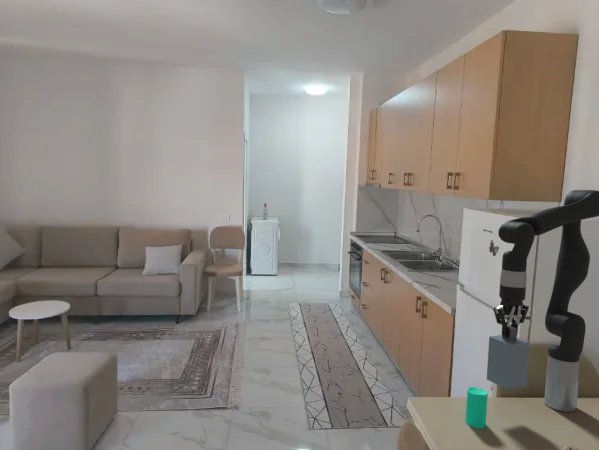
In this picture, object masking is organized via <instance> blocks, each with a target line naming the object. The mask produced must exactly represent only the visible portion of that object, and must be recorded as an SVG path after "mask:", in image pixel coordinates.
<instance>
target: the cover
mask: <svg viewBox="0 0 599 450" xmlns="http://www.w3.org/2000/svg"><path fill="white" fill-rule="evenodd" d="M509 327H510V332H509V338H505V337H503V336H502V334H497V335H492V336H489V337H488V353H487V368H486V380H487V381H489V382H492V383H493V384H495V385H498V386H499V387H501V388H503V389H505V390H506V391H511V390H515V389H519V388H525V387H528V375H529V362H530V359H529V358H530V349H531V343H530V341H527V340H525V339H522V338H519V337H518V334H517V328H515V327H512V326H509Z"/></svg>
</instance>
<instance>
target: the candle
mask: <svg viewBox="0 0 599 450" xmlns="http://www.w3.org/2000/svg"><path fill="white" fill-rule="evenodd" d="M466 390H467V392H466V407H465V409H466V410H465V424H467V426H470V427H472V428H475V429H484V428H486V423H487V422H486V421H487V409H488V408H487V407H488V391H486V390H484V388H481V387H473V386H470V387H468V388H467V389H466Z"/></svg>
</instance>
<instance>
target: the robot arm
mask: <svg viewBox="0 0 599 450" xmlns="http://www.w3.org/2000/svg"><path fill="white" fill-rule="evenodd" d="M563 201H564V203H563V205H560V206H559V205H558V206H555V207H550V208H546V209H542V210H539V211H538V212H535V213H532V214H530V215H528V216H523V217H517V218H513V219H510V220H507V221H505V222H503V223H502V224H501V225H500V227H499V228H498V233H497V234H498V237H499V239H500V240H501V241H502V242H504V243H507V244H512V245H513V244H514V245H513V247H512V250H508V251H504V252H503V254H502V259H501V260H502V261H501V272H500V276H499V277H500V278H499V279H500V280H499V291H498V295H499V298H500V299H501V300H500V304H499V305H498V306H497V307H496V306H494V307H493V312H494V313H493V314H494V317H495V320H496V323H497V324H498V325H501V335H502V336H503V337H505V338H509V332H510V327H509V326H512V327H515V328H517V335H518V334H519V332H518V331H519V326H520V325H521V324H523V323H524V322H525V319H526V317H527V314H528V311H529V309H530V306H529V305H526V304H524V303H523V302H524V301H525V299H526V294H527V293H526V291H527V263H528V261H527V260H528V257H529V255H530V253H531V249H532V246H533V244H534V241H535V238H536V236H541V235H544V234H546V233H548V232H550V231H552V230H555V229H557V228H560V227H562V229H561V240H560V245H559V252H558V257H557V262H556V267H555V268H556V269H555V276H554V280H553V281H554V282H553V287H552V290H551V295H550V299H549V302H548V305H547V306H548V307H547V309H546V313H545V317H544V326H545V330H546V331H547V332H548V333H550V334H551V335H554V336H557V337H558V338H559V337H560V342H559V344H552V345H550V346H549V347H548V350H547V361H546V375H545V376H546V377H545V389H544V400H543V401H544V404H545V405H546V406H547V407H549V408H551V409H553V410H557V411H559V412H564V413H566V412H567V413H572V412H575V410H576V408H577V406H578V395H579V393H578V392H579V383H580V381H579V380H578V378H579V367H580V358H581V355H582V352H583V349H584V343H585V337H586V321H585V319H584V318H583V316H581V315H579V314H576V313H574V312H570V311H568V310H569V304H570V300H571V298H572V295H573V294H574V293H575V292H576V291H577V290H578V289H579V287H580V286H581V285H583V283H584V282H585V280H586V279H587V277H588V273H589V267H590V262H591V255H590V252H589V248H588V246H587V244H586V242H585V240H584V238H583V235H582V230H581V229H582V228H581V227H582V220H586V219H587V220H588V219H591V218H593V219H594V218H596V217H599V190H594V189H575V190H570V191H569V192H567V194H566V195H565V198H564V200H563Z"/></svg>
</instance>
